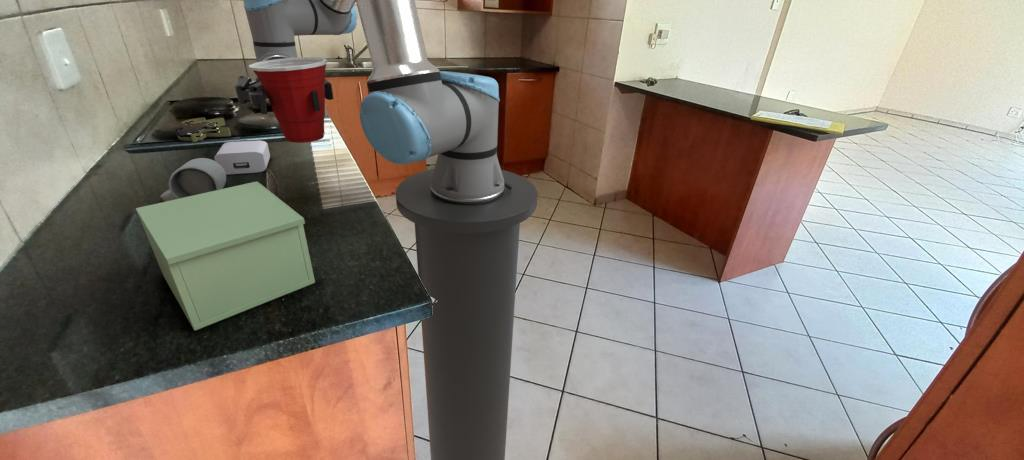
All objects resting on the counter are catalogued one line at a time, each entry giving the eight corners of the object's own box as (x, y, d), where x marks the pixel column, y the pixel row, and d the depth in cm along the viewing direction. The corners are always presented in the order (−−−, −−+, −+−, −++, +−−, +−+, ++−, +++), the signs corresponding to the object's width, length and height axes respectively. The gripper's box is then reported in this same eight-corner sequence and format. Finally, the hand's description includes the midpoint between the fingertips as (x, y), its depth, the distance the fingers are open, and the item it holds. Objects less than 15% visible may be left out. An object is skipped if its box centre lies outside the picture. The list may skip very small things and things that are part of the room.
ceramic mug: (232, 188, 87) (221, 151, 83) (223, 204, 80) (211, 165, 77) (171, 193, 84) (157, 156, 80) (156, 211, 77) (140, 171, 73)
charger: (273, 151, 108) (266, 171, 96) (231, 153, 105) (219, 175, 93) (269, 133, 106) (261, 151, 94) (226, 135, 103) (213, 154, 90)
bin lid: (305, 223, 55) (304, 218, 55) (168, 265, 46) (166, 258, 45) (258, 186, 65) (257, 181, 64) (137, 213, 55) (135, 208, 55)
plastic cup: (270, 130, 72) (253, 54, 66) (338, 127, 75) (328, 55, 70) (260, 150, 63) (239, 64, 57) (338, 146, 66) (326, 64, 61)
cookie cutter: (232, 137, 116) (230, 130, 115) (178, 143, 110) (176, 136, 109) (225, 122, 129) (223, 115, 128) (176, 127, 122) (174, 120, 121)
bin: (315, 282, 60) (302, 221, 56) (194, 331, 51) (166, 262, 46) (272, 241, 69) (258, 186, 65) (163, 276, 60) (137, 214, 55)
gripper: (339, 95, 86) (361, 123, 68) (226, 100, 77) (218, 134, 59) (333, 55, 82) (355, 74, 64) (215, 56, 74) (202, 78, 56)
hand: (290, 103), depth 62 cm, fingers closed on plastic cup, 6 cm apart
